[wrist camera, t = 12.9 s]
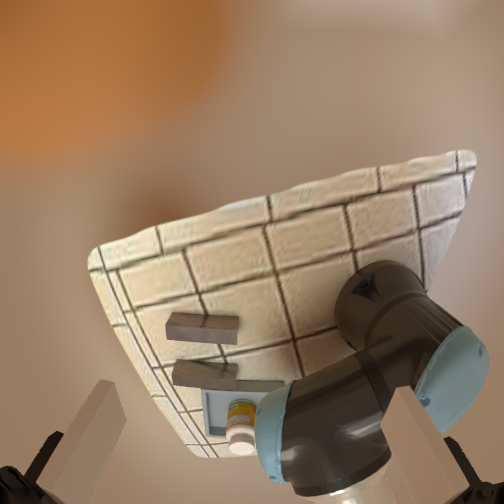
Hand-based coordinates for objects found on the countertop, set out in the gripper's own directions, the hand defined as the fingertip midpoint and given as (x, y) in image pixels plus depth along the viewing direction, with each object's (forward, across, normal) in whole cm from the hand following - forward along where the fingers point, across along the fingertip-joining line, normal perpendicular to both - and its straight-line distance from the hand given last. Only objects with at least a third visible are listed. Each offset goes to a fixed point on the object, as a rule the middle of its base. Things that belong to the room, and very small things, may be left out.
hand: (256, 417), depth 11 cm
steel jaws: (+29, +7, +15) cm, 33 cm away
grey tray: (+29, +1, +29) cm, 41 cm away
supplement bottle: (+28, +1, +29) cm, 40 cm away
